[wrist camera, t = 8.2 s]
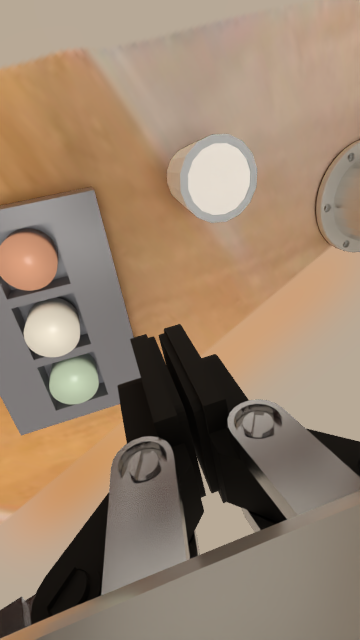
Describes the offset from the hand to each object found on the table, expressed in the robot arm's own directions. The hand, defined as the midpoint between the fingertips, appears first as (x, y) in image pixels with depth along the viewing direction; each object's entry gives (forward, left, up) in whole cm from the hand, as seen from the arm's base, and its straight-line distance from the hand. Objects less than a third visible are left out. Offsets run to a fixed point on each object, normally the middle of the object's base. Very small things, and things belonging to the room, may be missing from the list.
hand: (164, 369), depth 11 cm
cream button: (+7, +7, -25) cm, 27 cm away
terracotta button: (+7, +1, -26) cm, 26 cm away
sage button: (+7, +14, -24) cm, 29 cm away
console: (+7, +7, -26) cm, 28 cm away
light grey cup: (-10, -3, -26) cm, 28 cm away
